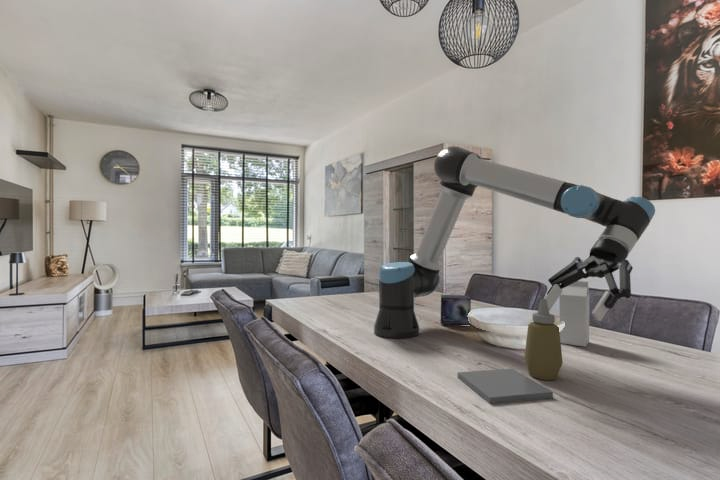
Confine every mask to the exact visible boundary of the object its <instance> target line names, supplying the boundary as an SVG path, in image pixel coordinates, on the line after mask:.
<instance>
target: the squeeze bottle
mask: <svg viewBox="0 0 720 480" xmlns="http://www.w3.org/2000/svg"><path fill="white" fill-rule="evenodd" d="M539 301H540V302H539V305H538V309H537V312H535V313H532V321H531V322H530V323H529V324H528V325H527V332H526V334H527V335H526V342H525V350H524V362H525V365H526V369H527V370H528V374H529V375H530V376H531V377H532V378H536V379H538V380H539V379H540V380H545V381H554V380H557V378H558V376H559V373H560V371H561V368H562V366H563V363H564V362H563V361H564V360H563V353H562V352H563V351H562V345H561V344H562V343H561V342H560V332H559V326H558V325H557V324H556V323H555V319H556V317H555V315H554V314H551V313H550V310H549V309H548V304H547V300H546V299H545V298H541V299H540V300H539Z"/></svg>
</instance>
